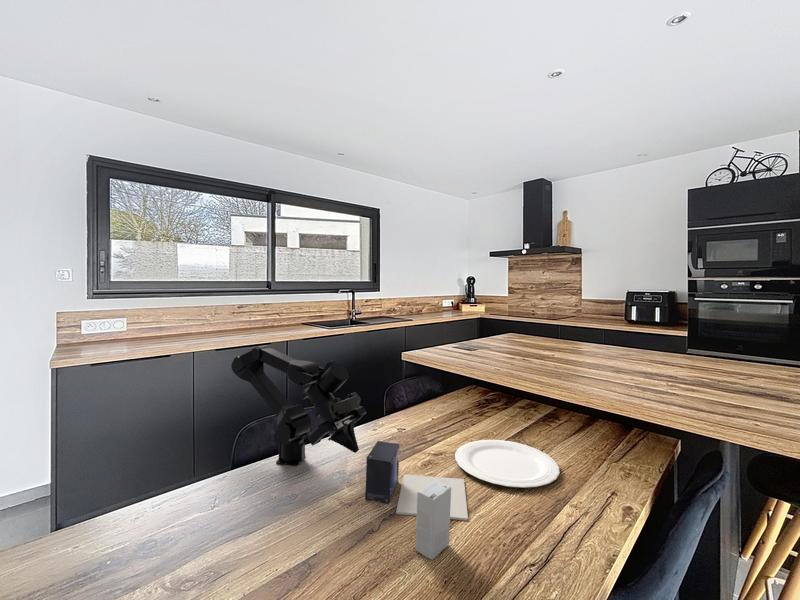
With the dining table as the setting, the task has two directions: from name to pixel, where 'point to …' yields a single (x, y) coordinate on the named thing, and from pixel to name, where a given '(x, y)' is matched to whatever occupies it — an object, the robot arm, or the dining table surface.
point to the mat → (416, 483)
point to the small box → (382, 472)
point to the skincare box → (433, 519)
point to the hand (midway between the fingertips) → (357, 451)
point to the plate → (507, 463)
